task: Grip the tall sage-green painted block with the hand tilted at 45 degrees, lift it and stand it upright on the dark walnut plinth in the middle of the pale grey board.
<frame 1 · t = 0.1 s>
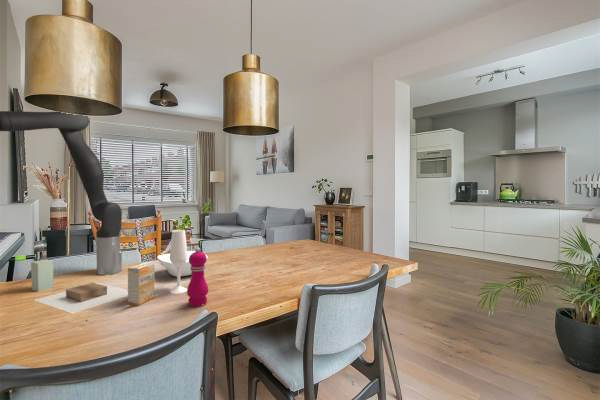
bowl: (182, 274, 144), on the table
supplement box: (141, 301, 110), on the table
champagne flute: (178, 291, 122), on the table
walnut plinth: (86, 296, 112), resting on grey board
sage block: (42, 288, 121), on the table
grey board: (87, 298, 112), on the table
pepper mill: (197, 303, 109), on the table
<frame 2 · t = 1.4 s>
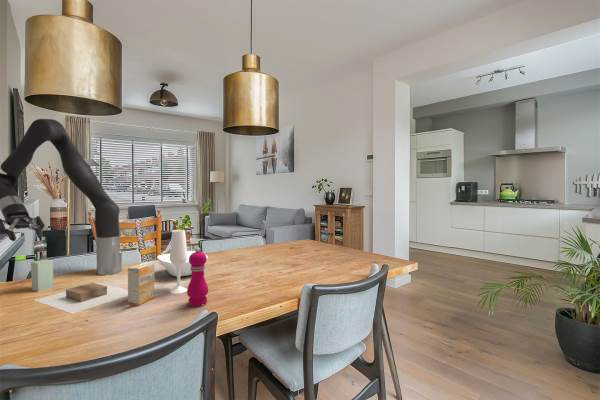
hand: (27, 238, 125), 19 cm above the table, tool tilted 45°, fingers open, 8 cm apart
nothing on the table moved.
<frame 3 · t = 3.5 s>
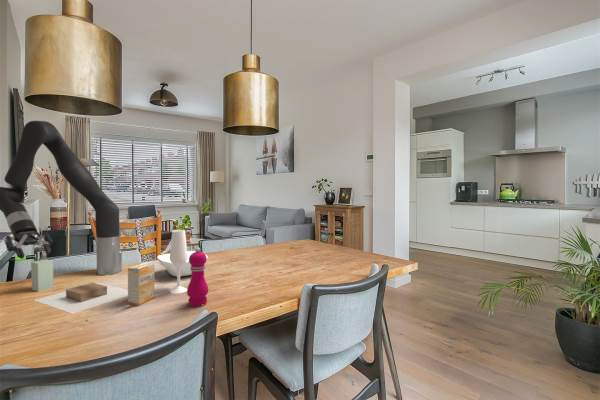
hand: (36, 255, 122), 13 cm above the table, tool tilted 45°, fingers open, 8 cm apart
nothing on the table moved.
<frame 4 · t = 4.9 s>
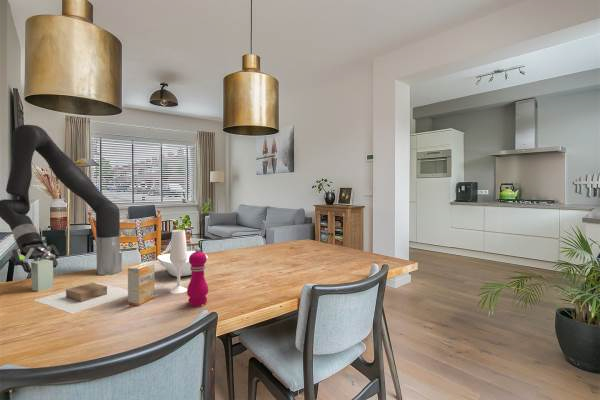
hand: (42, 269, 121), 8 cm above the table, tool tilted 45°, fingers open, 8 cm apart
nothing on the table moved.
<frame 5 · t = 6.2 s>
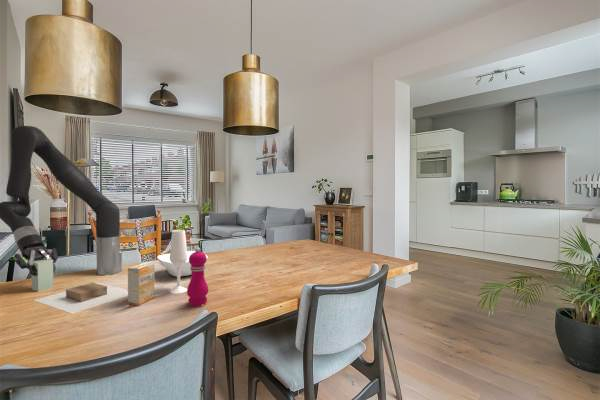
hand: (44, 272, 120), 7 cm above the table, tool tilted 45°, fingers closed on sage block, 5 cm apart
sage block: (42, 288, 121), on the table, touching gripper
everything else where it was.
when the fingers open (12 cm above the table, at t = 13.5 s): sage block stays where it is, resting on walnut plinth.
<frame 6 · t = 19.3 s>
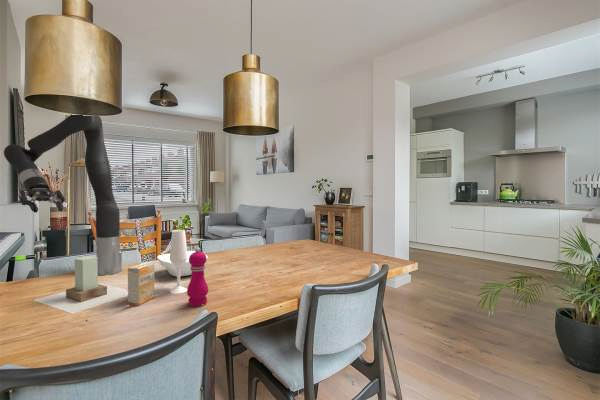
hand: (49, 210, 125), 31 cm above the table, tool tilted 45°, fingers open, 8 cm apart
sage block: (86, 287, 111), point 4 cm above the table, touching walnut plinth
everything else where it was.
at the end: sage block 0.1 cm off-centre on the walnut plinth, point 3.0 cm above the walnut plinth's base; sage block tilted 0°; the gripper is holding nothing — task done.
